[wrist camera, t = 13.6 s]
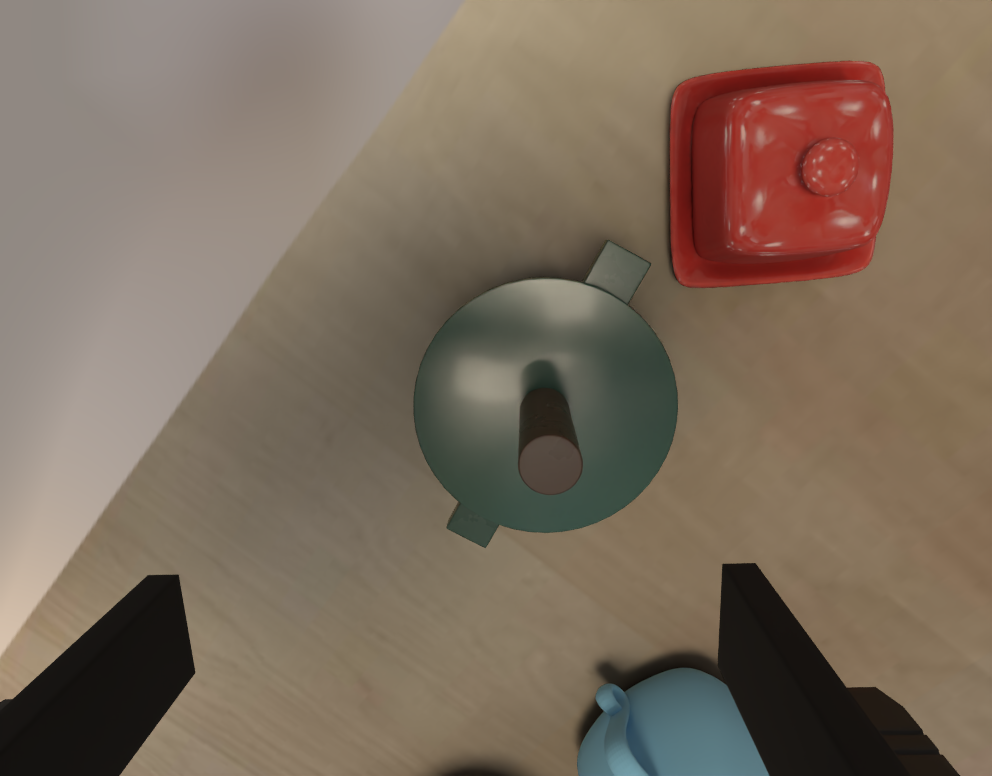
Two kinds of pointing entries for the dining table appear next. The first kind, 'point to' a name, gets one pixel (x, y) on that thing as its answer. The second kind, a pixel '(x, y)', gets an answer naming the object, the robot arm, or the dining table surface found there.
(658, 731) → the teapot
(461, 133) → the dining table surface
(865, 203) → the butter dish
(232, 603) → the dining table surface
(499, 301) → the pot lid
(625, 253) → the pot
